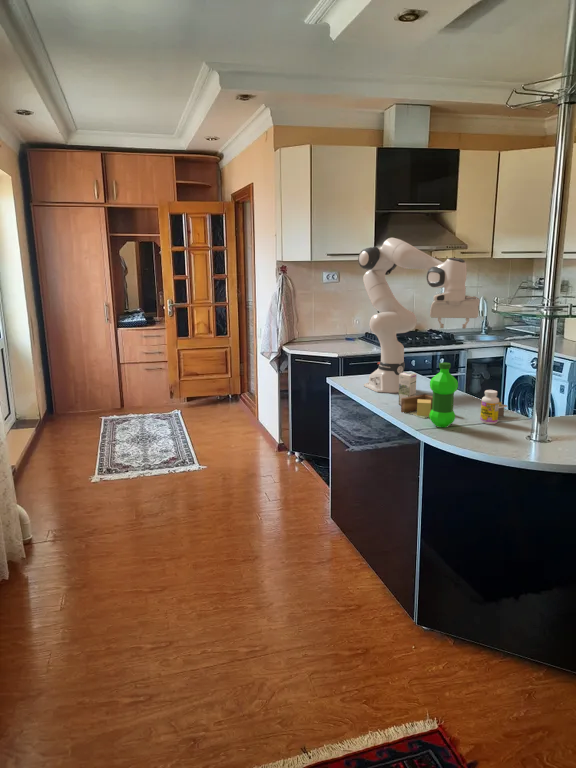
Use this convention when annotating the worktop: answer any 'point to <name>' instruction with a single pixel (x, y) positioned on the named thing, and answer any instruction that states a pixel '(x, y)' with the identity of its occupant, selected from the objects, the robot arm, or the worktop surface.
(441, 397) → the plastic bottle
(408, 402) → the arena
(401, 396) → the syrup box
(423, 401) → the block
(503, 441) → the worktop surface
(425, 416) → the pad
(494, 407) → the supplement bottle
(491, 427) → the worktop surface
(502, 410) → the platform
